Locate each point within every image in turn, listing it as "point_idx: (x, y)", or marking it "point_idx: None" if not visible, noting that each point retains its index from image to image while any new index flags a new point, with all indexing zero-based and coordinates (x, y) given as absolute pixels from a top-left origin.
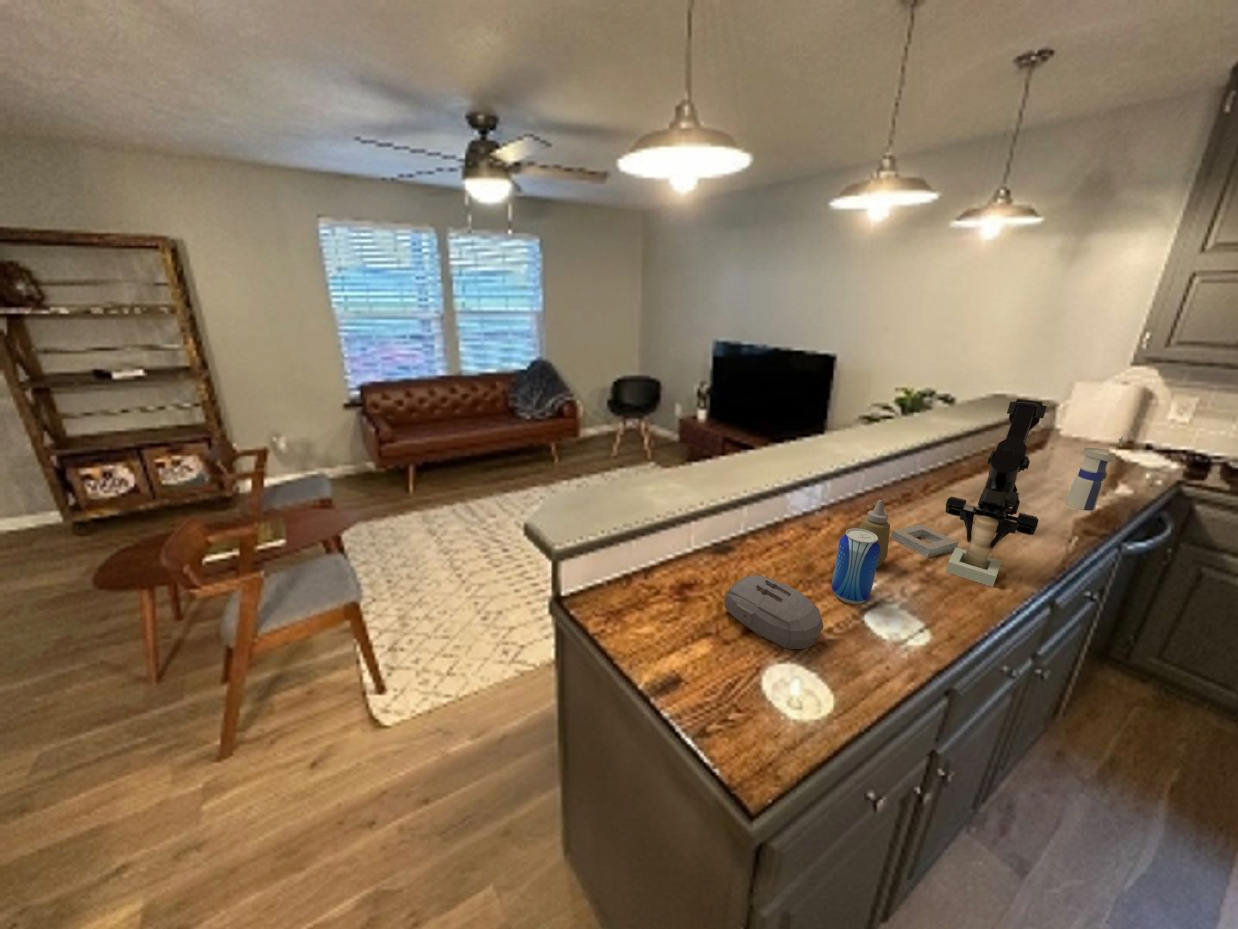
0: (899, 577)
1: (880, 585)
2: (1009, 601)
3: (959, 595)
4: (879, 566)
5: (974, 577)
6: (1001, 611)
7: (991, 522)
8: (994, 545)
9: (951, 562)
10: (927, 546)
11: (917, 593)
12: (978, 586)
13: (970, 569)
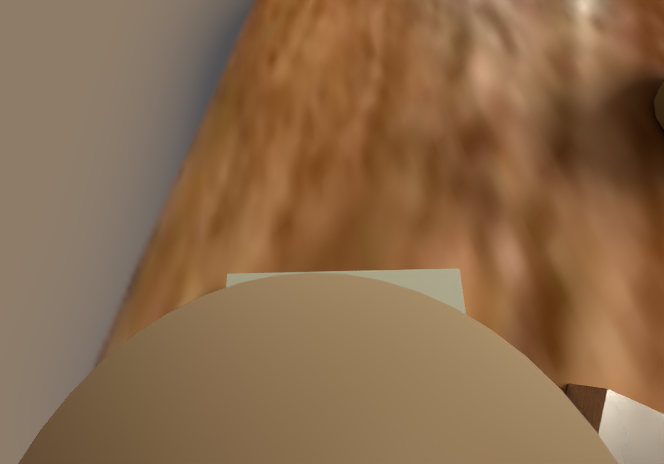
0: (554, 100)
1: (568, 12)
2: (189, 212)
3: (346, 128)
4: (656, 112)
5: None
6: (215, 124)
7: (171, 439)
8: None
9: (443, 271)
10: (640, 435)
11: (459, 46)
12: (299, 249)
13: (346, 271)
